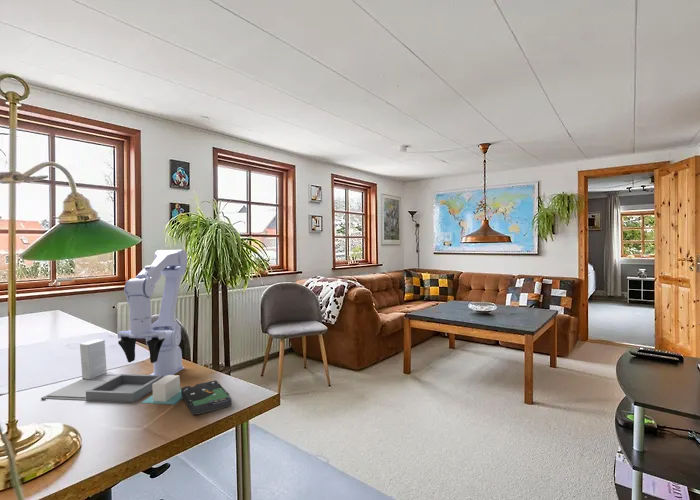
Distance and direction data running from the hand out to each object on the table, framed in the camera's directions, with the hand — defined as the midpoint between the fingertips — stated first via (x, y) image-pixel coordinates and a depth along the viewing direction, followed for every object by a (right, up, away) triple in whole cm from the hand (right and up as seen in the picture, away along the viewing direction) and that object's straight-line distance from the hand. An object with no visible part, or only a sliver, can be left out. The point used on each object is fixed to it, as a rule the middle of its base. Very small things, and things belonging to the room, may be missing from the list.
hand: (142, 361), depth 116 cm
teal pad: (+10, -9, -4) cm, 14 cm away
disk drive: (+22, -9, -8) cm, 25 cm away
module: (+10, -9, -4) cm, 14 cm away
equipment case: (-12, -10, +1) cm, 16 cm away
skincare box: (-25, -10, +15) cm, 31 cm away
